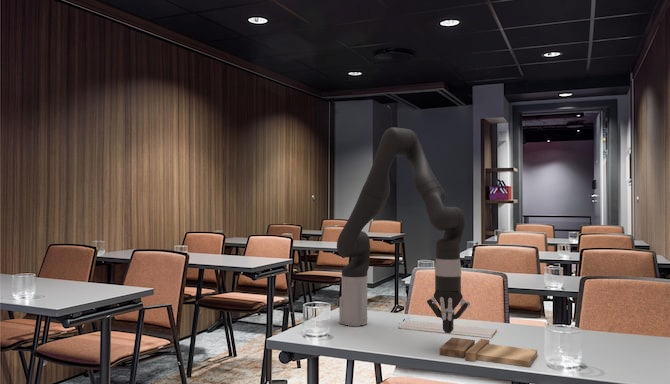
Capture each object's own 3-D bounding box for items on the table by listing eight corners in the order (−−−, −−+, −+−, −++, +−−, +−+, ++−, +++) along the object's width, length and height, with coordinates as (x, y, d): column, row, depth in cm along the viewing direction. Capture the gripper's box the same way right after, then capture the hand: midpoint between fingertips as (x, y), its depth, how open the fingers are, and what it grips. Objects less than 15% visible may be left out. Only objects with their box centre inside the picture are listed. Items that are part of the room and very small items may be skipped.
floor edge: (465, 360, 148) (465, 352, 148) (480, 346, 163) (480, 338, 163) (528, 369, 140) (528, 360, 140) (538, 353, 155) (538, 345, 155)
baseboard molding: (490, 341, 171) (496, 333, 182) (490, 332, 171) (496, 325, 182) (397, 331, 185) (408, 324, 196) (397, 322, 185) (408, 316, 196)
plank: (439, 348, 153) (464, 351, 150) (451, 337, 166) (474, 340, 163) (439, 356, 153) (464, 360, 150) (451, 345, 166) (474, 348, 163)
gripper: (422, 273, 160) (422, 332, 159) (466, 276, 153) (466, 338, 153) (430, 271, 166) (431, 327, 166) (473, 273, 160) (473, 332, 159)
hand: (448, 332), depth 159 cm, fingers closed
